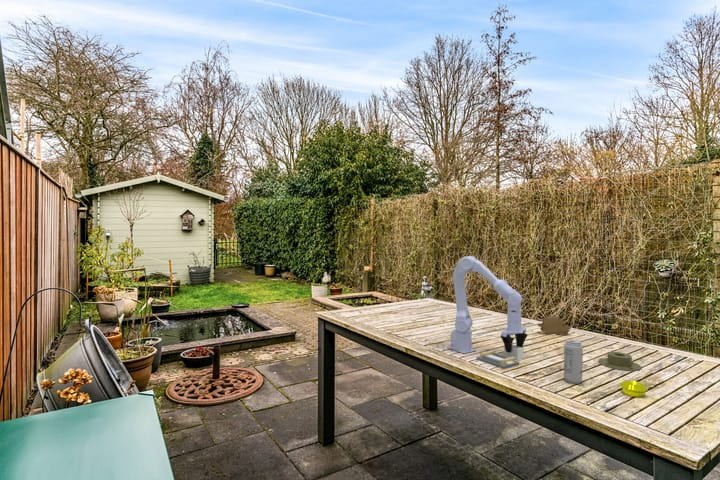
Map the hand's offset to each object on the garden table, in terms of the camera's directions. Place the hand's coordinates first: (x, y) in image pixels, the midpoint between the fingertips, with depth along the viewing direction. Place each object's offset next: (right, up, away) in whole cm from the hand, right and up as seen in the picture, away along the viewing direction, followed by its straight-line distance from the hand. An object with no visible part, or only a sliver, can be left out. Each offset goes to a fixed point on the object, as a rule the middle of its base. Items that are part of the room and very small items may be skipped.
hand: (514, 350), depth 172 cm
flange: (+41, -4, -8) cm, 42 cm away
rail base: (-9, -3, -6) cm, 11 cm away
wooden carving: (+37, -3, +40) cm, 55 cm away
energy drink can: (+11, -4, -27) cm, 30 cm away
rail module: (0, -3, 0) cm, 3 cm away
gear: (+26, -4, -38) cm, 46 cm away
